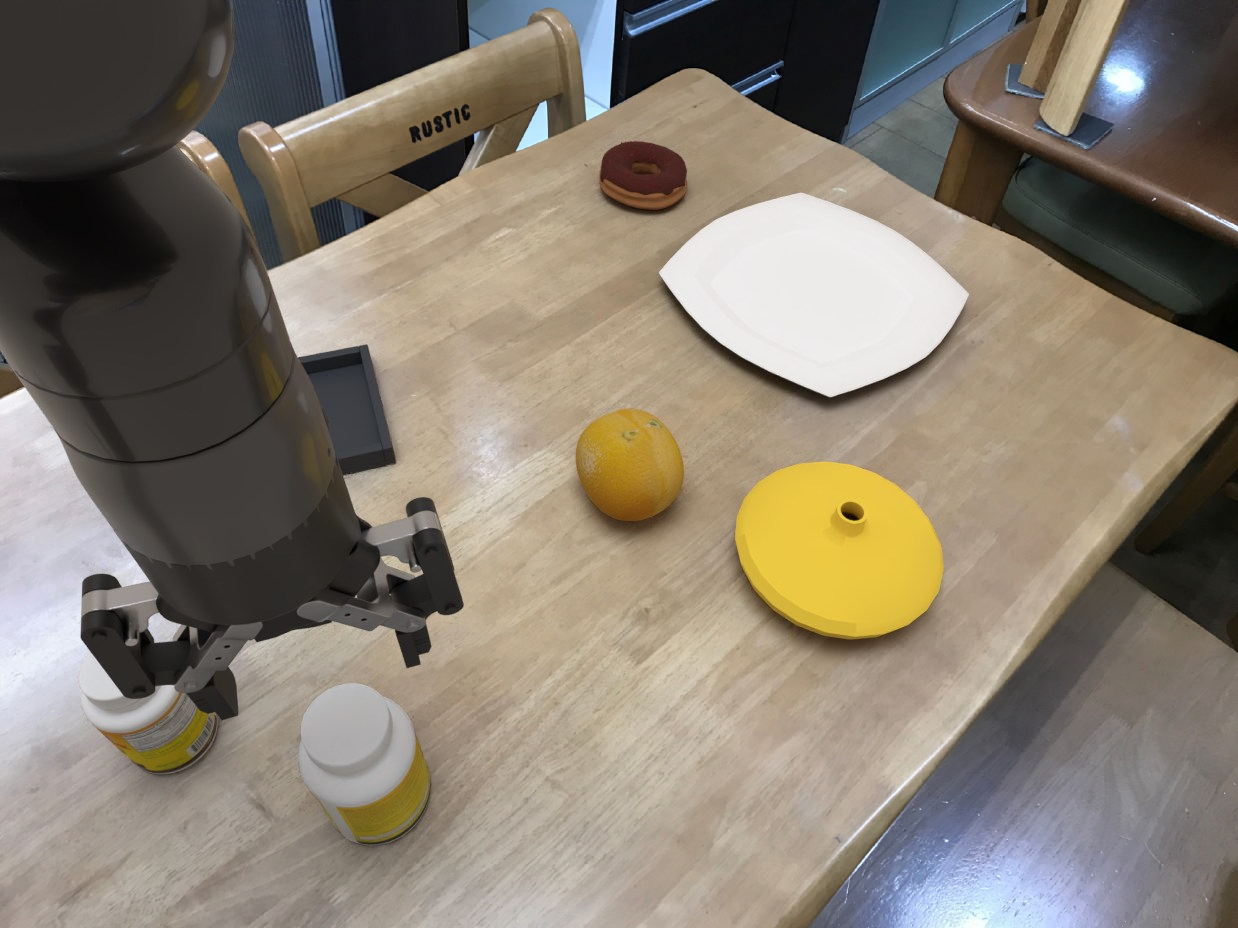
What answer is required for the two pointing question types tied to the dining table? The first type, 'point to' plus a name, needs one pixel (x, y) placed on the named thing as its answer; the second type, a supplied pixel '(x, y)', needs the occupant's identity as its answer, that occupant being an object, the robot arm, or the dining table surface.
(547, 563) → the dining table surface
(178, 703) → the supplement bottle
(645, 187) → the donut
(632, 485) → the fruit
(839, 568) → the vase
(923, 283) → the plate
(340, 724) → the pill bottle
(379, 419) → the holder
